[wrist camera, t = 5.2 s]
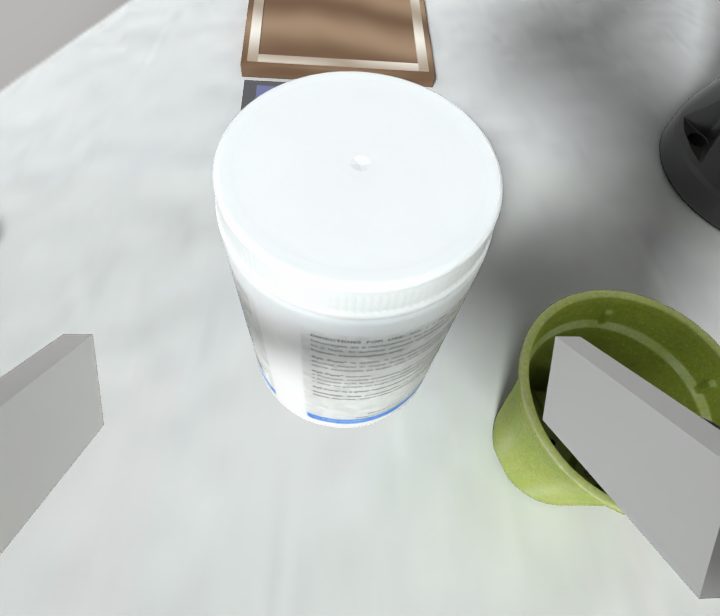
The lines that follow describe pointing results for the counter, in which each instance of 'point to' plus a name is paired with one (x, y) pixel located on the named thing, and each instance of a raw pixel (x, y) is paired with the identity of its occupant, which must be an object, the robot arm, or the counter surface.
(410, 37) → the board
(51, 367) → the robot arm
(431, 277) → the supplement tub
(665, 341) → the plant pot
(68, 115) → the counter surface
